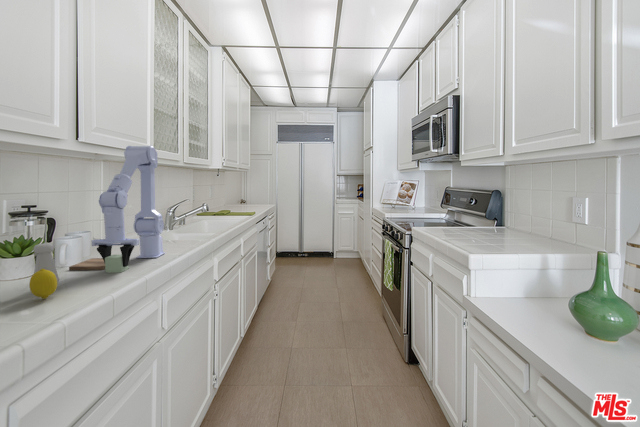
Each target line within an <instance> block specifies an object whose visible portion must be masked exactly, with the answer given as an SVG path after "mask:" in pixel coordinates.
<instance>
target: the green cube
mask: <svg viewBox="0 0 640 427" xmlns="http://www.w3.org/2000/svg"><path fill="white" fill-rule="evenodd" d="M104 270H105V273H123V272H125V271H127V270H129V265H128V266H126V267H123V261H122V254H111V256H108V257H106V258H105V269H104Z"/></svg>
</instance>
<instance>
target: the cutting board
mask: <svg viewBox="0 0 640 427" xmlns="http://www.w3.org/2000/svg"><path fill="white" fill-rule="evenodd" d="M95 270H96V271H100V270H102V271H103V270H105V263H104V260H103V258H102V257H99V258H97V257H94V258H89V259H87V260H84V261H82V262H78V263H75V264H74V265H71V266H68V271H95Z"/></svg>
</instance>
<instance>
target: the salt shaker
mask: <svg viewBox="0 0 640 427" xmlns="http://www.w3.org/2000/svg"><path fill="white" fill-rule="evenodd" d="M54 250H55V246H54V244H52V243H45V242H44V243H38V244H36V245H34V246H33V252H34V254H36V258H35V265H34V272H33V274H34V273H36V272H37V271H40V269H45V270H49V271H51V272H53V273H54V274H55V276H56V278H57V286H58V285H59V283H60V277H59V274H58V271H57V268H56V264H55V262H54V261H55V260H54V258H53V254H52V252H54Z"/></svg>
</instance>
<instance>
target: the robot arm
mask: <svg viewBox="0 0 640 427" xmlns="http://www.w3.org/2000/svg"><path fill="white" fill-rule="evenodd" d="M123 155H124V159H125V160H124V162H123V165H122V167H121V170H120V173H118V174H115V175H114V177H113V179H112V180H111V183H110V185H109V186H108V188H107V190H106V191H104V192H102V193H101V194H100V195H99V199H98V204H99V206H100V208H101V213H102V214H103V218H104V238H105V239H104V238H103V239H99V238H98V239H93V240H91V247H97V248H96V251H97V252H98V253H99V255H100V256H101V258H103V260H104V263H105V258H106V257H108V256H111V255H112V249H113V246H120V247H119V249H120V252H121V253H120V254H121V255H122V261H123V267H126V266H128V267H129V262H130V257H131V255H132V252H133V250H134V248H135V246H138V245H139V253H140V254H138V255H137V256H136V257H135V259H157V258H159V257H161V256H163V255H164V254H166V251H164V248H163V247H164V244H163V243H164V242H163V237H162V236H161V234H162V232H163V231H164V229H165V224H164V219H163V215H162V213H160V212H158V211H157V210H156V180H155V179H156V175H155V174H156V171H155V170H156V169H157V168H158V160H159V159H158V151H157V150H156V148H155V147H154V146H153V145H140V146H139V145H136V146H135V145H133V146H132V145H128V146H126V148H124V152H123ZM137 169H138V170H139V171H140V211H139V212H138V213H136V214H135V215H134V222H133V231H134V233H135V234H137V236H138V237H139V238H126V228H125V213H124V212H125V209H124V208H125V207H126V206H127V204H128V196H129V195H128V193H129V190H130V188H131V186H132V185H133V180H132V179H131V178H132V176H133V175H134V173H135V172H136V170H137Z"/></svg>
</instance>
